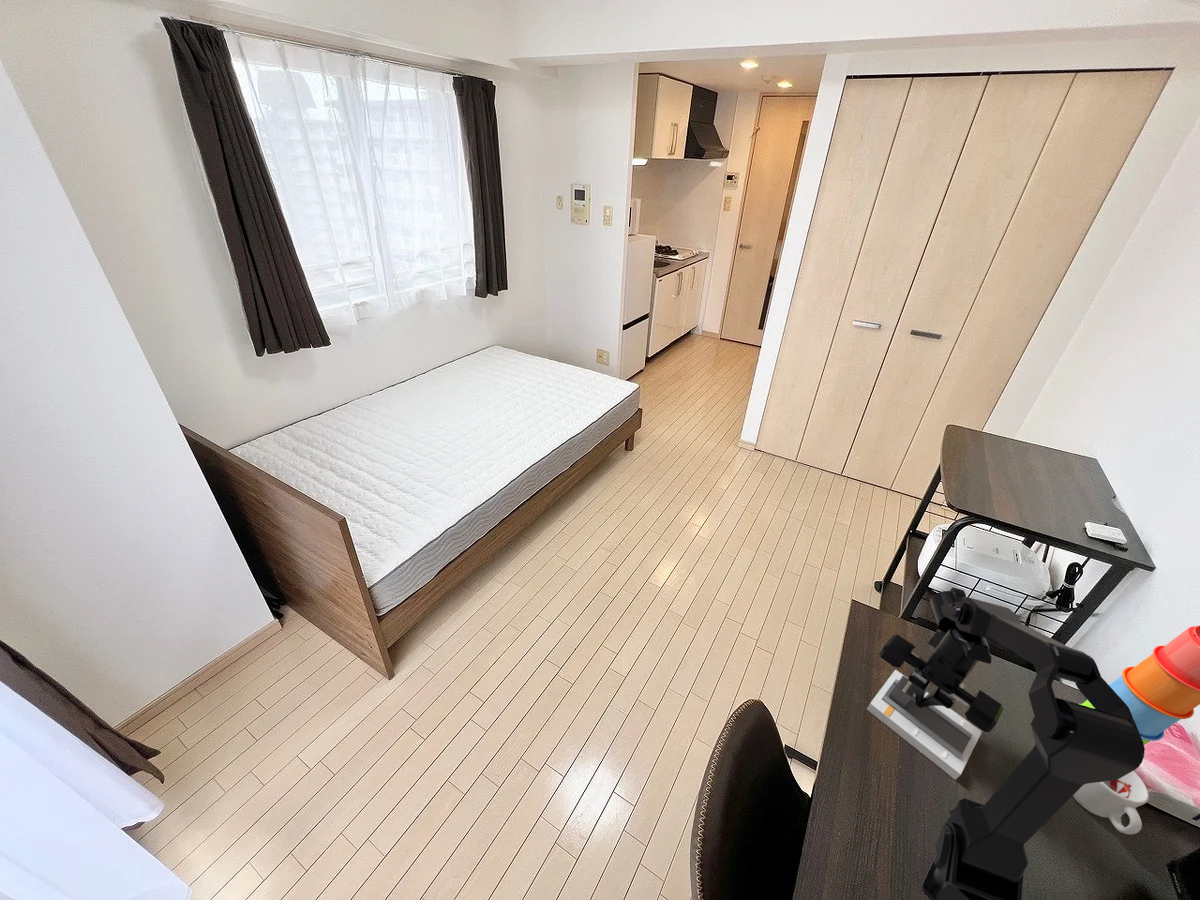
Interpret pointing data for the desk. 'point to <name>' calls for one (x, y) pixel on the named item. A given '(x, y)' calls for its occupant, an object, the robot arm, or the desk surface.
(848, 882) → the desk surface
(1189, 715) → the stacking cups
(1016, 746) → the desk surface
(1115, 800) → the cup
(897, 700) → the fader knob
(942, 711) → the console board
